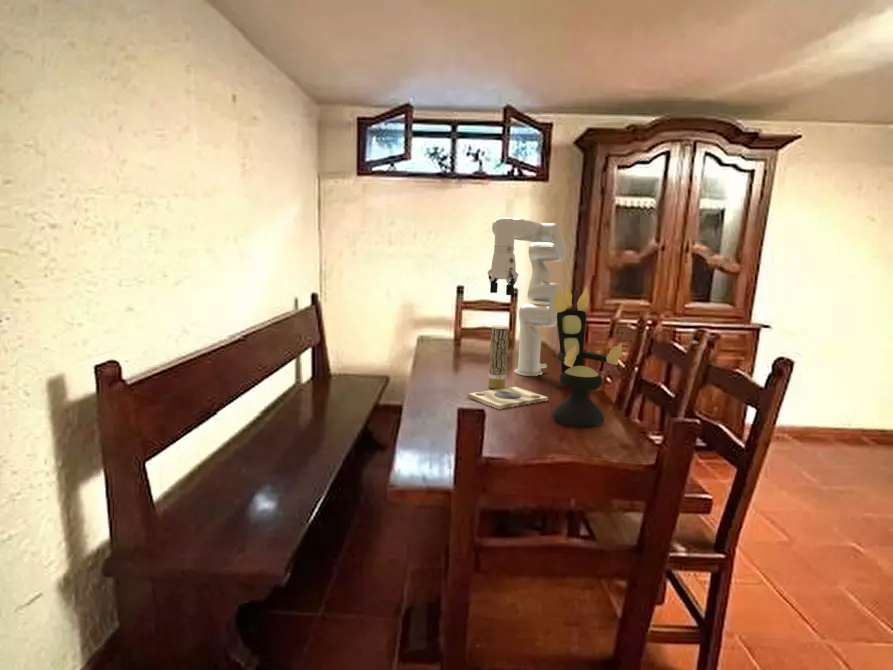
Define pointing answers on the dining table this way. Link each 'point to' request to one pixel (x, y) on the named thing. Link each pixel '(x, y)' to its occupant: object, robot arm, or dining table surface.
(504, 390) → the board
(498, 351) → the paper tube
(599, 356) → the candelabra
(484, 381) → the dining table surface
